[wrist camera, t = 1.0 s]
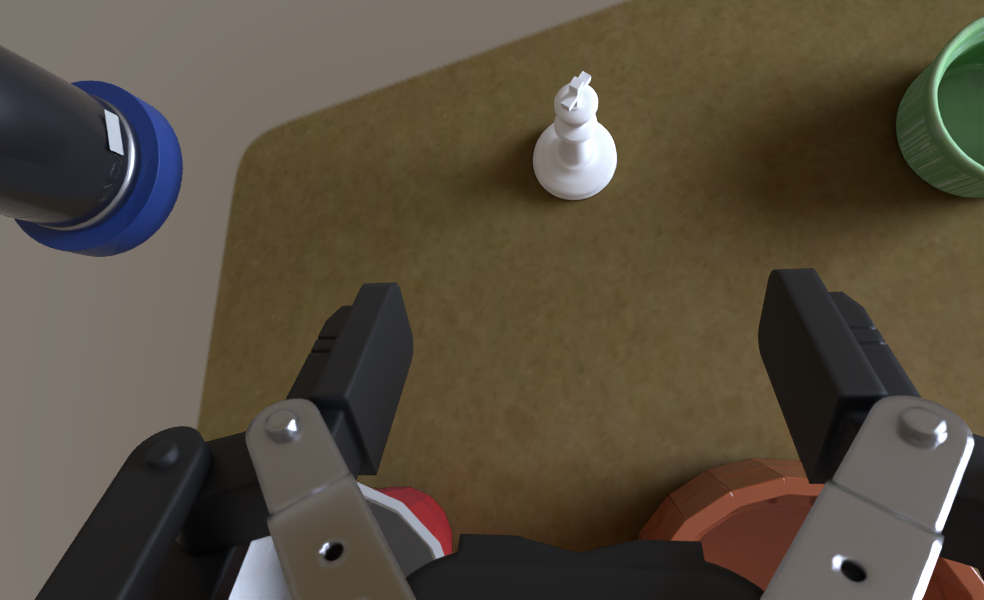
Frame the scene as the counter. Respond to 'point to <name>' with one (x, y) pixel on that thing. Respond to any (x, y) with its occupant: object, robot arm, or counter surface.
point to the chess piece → (575, 145)
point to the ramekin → (948, 117)
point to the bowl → (766, 523)
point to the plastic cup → (402, 519)
